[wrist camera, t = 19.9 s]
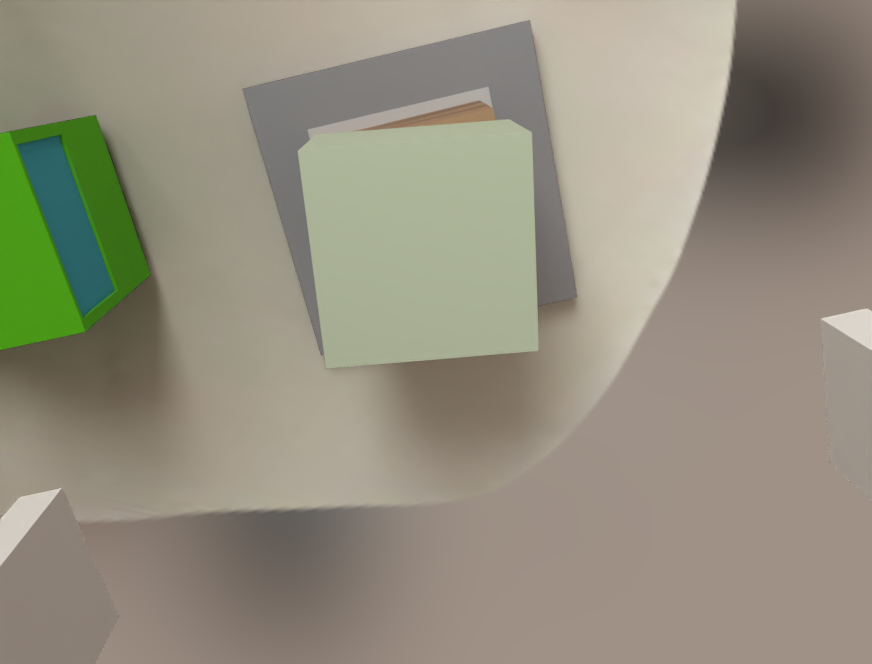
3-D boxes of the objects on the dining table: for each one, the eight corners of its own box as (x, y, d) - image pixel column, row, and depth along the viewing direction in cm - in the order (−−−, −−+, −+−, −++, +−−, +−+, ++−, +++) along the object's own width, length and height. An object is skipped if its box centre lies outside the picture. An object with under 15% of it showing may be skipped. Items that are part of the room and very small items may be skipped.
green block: (316, 134, 32) (297, 151, 26) (509, 119, 32) (532, 132, 27) (338, 318, 35) (326, 368, 29) (516, 303, 35) (538, 350, 29)
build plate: (247, 87, 38) (242, 89, 37) (525, 21, 38) (530, 20, 37) (323, 347, 43) (320, 355, 42) (572, 290, 43) (577, 297, 41)
